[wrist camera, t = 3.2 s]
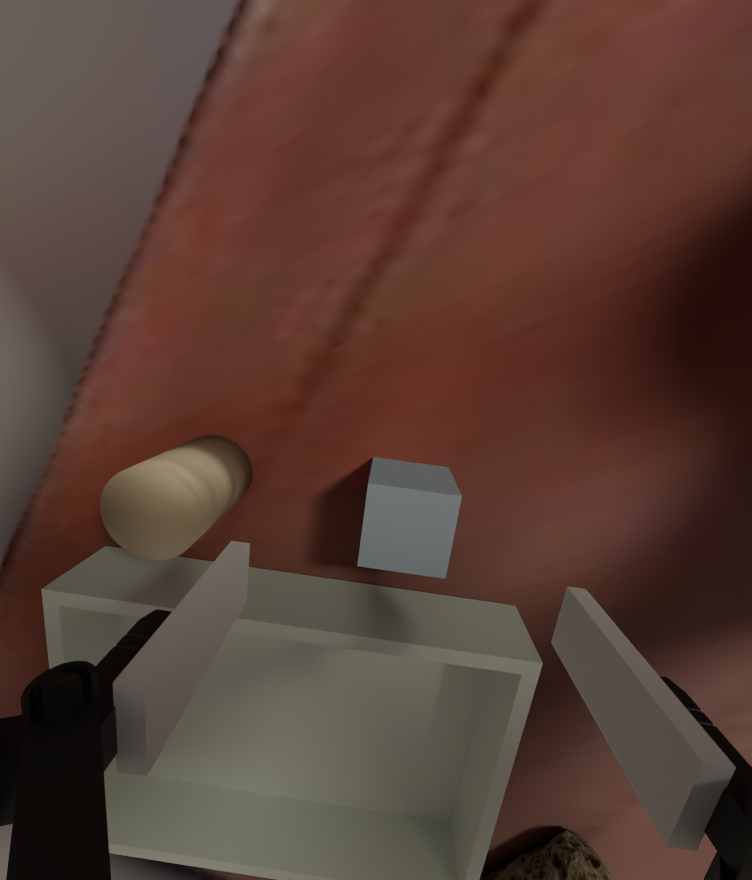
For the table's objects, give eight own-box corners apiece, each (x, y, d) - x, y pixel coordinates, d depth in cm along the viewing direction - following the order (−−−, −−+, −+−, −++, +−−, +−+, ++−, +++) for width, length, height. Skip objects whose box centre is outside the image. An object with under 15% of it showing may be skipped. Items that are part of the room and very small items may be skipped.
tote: (105, 545, 27) (41, 589, 22) (515, 605, 26) (542, 663, 21) (117, 770, 32) (67, 846, 27) (458, 823, 31) (470, 910, 27)
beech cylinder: (180, 430, 24) (97, 460, 18) (254, 440, 24) (199, 474, 17) (180, 499, 26) (102, 552, 19) (250, 509, 25) (198, 566, 19)
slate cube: (373, 456, 24) (368, 483, 19) (448, 467, 24) (461, 496, 19) (364, 525, 25) (357, 566, 21) (435, 535, 25) (445, 578, 20)
